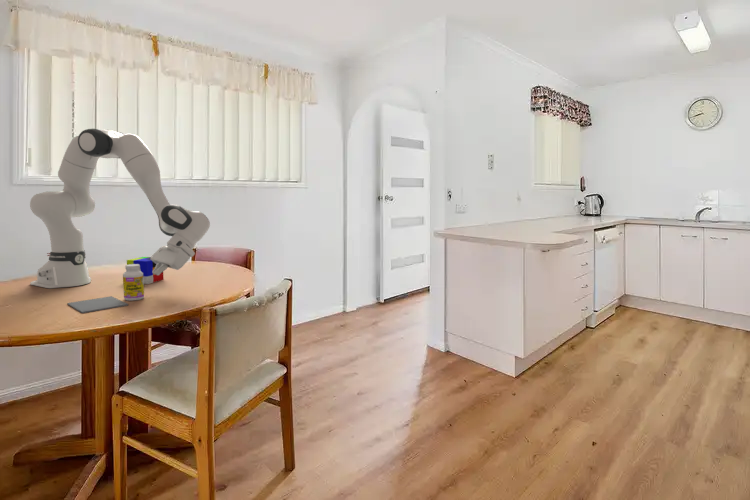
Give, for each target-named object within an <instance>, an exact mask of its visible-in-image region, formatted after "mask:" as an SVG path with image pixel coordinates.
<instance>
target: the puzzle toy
mask: <svg viewBox="0 0 750 500" xmlns="http://www.w3.org/2000/svg"><path fill="white" fill-rule="evenodd" d="M129 264H139V265H140V269H139V270H140V271H141V272H142V273H143V281H144V285H149V284H153V283H156V281H157V282H159V281H163V280H164V278H165V277H164V271H163V272H161V274H160V275H155V274H154V273H152V271H153V270H154V269H155V267H156V264H155V263H154V262H153V261H152V260H151V256H141V257H136V258H130V259H126V265H129Z"/></svg>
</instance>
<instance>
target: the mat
mask: <svg viewBox="0 0 750 500" xmlns="http://www.w3.org/2000/svg"><path fill="white" fill-rule="evenodd" d="M67 305H68V306H70V307H71V308H72V309H74V310H76V311H78V312H79V313H81V314H86V313H93V312H96V311H98V312H99V311H104V310H108V309H114V308H121V307H122V308H123V307H127V306H129V303H127V302H125V301H123V300H120V299H118V298H116V297H114V296H112V295H110V296H104V297H99V298H92V299H86V300H77V301H73V302H72V301H71V302H67Z"/></svg>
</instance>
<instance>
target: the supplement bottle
mask: <svg viewBox="0 0 750 500" xmlns="http://www.w3.org/2000/svg"><path fill="white" fill-rule="evenodd" d="M124 268H125V272H123V274H122V287H123V289H122V290H123V299H124V300H125V301H129V302H131V301H132V302H134V301H140V300H143V299H144V298H145V286H144V285H145V284H144V281H143V273H142V272H141V271H140V270H139V269H140V265H139V264H129V265H127V264H125V266H124Z"/></svg>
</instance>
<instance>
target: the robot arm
mask: <svg viewBox="0 0 750 500" xmlns="http://www.w3.org/2000/svg"><path fill="white" fill-rule="evenodd" d="M101 158H102V159H120V161H121V162H122V163H123V165H124V167H125V168H126V170H127V171H128V173H129V174H130V176H131V177H132V179H133V180H134V181H135V182H136V184H137V185H138V187H140V189H141V191H143V193H144V194H145V195H146V197H147V199H148V200H149V203H150V204H151V206H152V208H153V209H154V211H155V213H156V215H157V219H158V226H159V229H160V231H161V232H162V233H163V234H164V235H166V236H168V237H171V238H169V240H168V241H167V242H166V245H162V246H161V247H159V248H158V249H157V250H156V251H154V253H153V254H151V256H150V257H151V260H152V261H153V262H154V263H155V264H156V267H155V269H154V270H153V271H152V273H154V274H155V275H160V274H161V272H163V273H164V272H165V271H166V270H167V269H168V268H169V269H173V270H176V271H178V270H181V269H182V268H183V267H184V266H185V265H186V263H188V261H189V260H190V259H191V258H192V257H194V256H195V254H196V253H195V251H194V250H193V249H194V248H195V245H196V244H197V243H198V242H199V241H201V240H202V239H203V238H204V236H205V235H206V233H207V232H208V230H209V229H210V226H211V223H210V220H209V218H208V217H207V216H206V215H205V214H204V212H201V211H194V210H190V209H187V208H184V207H182V206H181V205H179V204H170V201H169V200H168V199H167V197H166V195H165V193H164V191H163V188H162V182H161V171H160V167H159V164H158V163H157V159H155V157H154V154H153V153H152V152H151V150H150V149H149V147H148V146H147V145H146V143H144V141H143V140H142V138H140V137H139V136H138V135H136V134H135V133H134V134H133V133H126V134H125V133H123V132H120V131H114V130H110V129H98V128H88V129H84V130H82V131H81V132H80V133H79V134H78V135H76V136H74V137H73V138H72V140H71V141H70V143H69V144H68V146H67V148H66V150H65V152H64V155H63V157H62V160H61V164H60V166H59V169H58V171H57V176H58V178H59V179H60V181H61V182H62V183H63V189H62V190H61V191H60V190H59V191H58V190H56V191H54V190H53V191H44V192H39V193H36V194H34V195H33V196H32V197H31V199H30V201H29V207H30V210H31V212H32V214H34V216H36V217H38V218H39V220H42V222H43V224H44V225H45V226H46V228H47V231H48V234H49V239H50V247H51V251H50V252H47V253H46V254H47V255H46V256H47V257H48V261H47V262H46V263H44V264H43V265H42V266H41V267H40V268H39V269H37V272H36V273H37V274H36V278H37V279H36V280H32V281H30V285H31V286H36V287H41V288H46V289H57V288H69V287H79V286H82V285H87V284H90V283H91V280H92V277H90V273H89V269H88V264H87V262H86V260H85V259H86V257H87V256H86V250H85V249H84V239H83V238H84V236H83V232H82V230H81V229H79V228H77V227H76V226H75V225H74V223H73V221H72V218H83V217H85V216H87V215H90V214H92V213H93V212H94V211H95V209H96V208H95V207H96V203H95V200H94V199H95V198H94V197H93V196H92V194H91V193H90V184H91V180H92V178H93V174H94V172H95V169H96V166H97V163H98V160H99V159H101Z"/></svg>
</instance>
